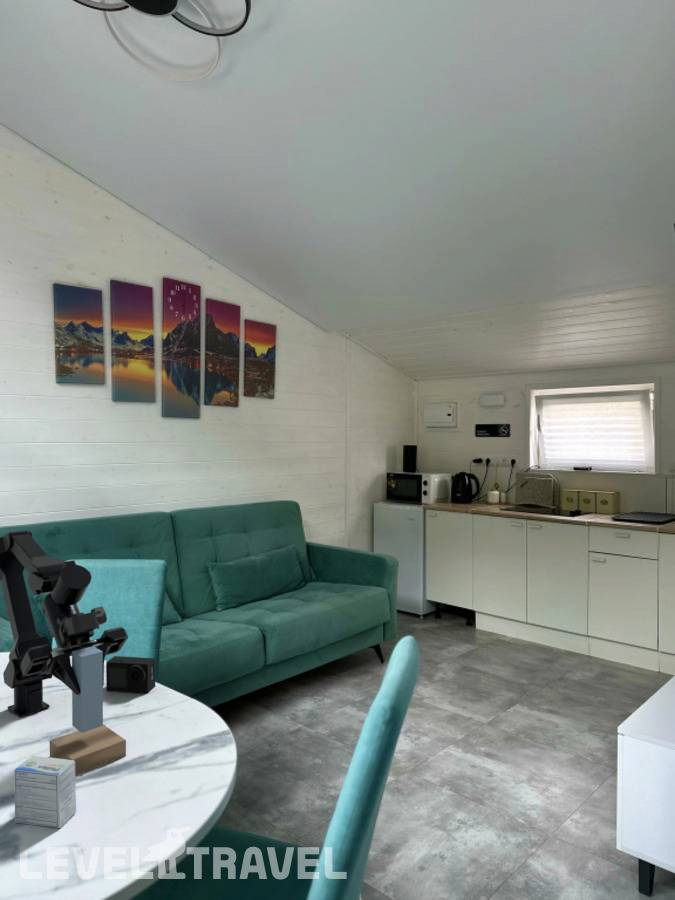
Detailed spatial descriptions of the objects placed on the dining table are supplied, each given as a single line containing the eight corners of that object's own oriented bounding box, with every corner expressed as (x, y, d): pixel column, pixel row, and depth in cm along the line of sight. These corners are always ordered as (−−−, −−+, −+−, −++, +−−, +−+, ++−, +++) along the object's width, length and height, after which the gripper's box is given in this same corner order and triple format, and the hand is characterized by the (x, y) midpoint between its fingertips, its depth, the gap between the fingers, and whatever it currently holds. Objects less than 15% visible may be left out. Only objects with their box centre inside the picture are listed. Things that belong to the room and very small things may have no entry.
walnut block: (49, 756, 118) (49, 740, 118) (101, 737, 126) (101, 723, 126) (72, 776, 112) (72, 759, 111) (125, 755, 119) (125, 740, 119)
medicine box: (77, 813, 101) (76, 759, 101) (59, 830, 97) (58, 774, 96) (33, 807, 102) (32, 754, 102) (13, 824, 98) (13, 768, 98)
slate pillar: (72, 725, 118) (71, 651, 118) (93, 718, 121) (92, 646, 121) (81, 732, 116) (81, 656, 115) (102, 725, 119) (102, 651, 118)
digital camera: (103, 693, 147) (102, 663, 147) (114, 684, 153) (114, 655, 153) (145, 696, 146) (145, 665, 146) (155, 686, 151) (155, 657, 151)
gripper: (25, 604, 114) (51, 682, 106) (123, 586, 127) (152, 654, 120) (10, 637, 120) (33, 714, 112) (105, 617, 133) (131, 684, 126)
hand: (90, 690), depth 117 cm, fingers closed on slate pillar, 4 cm apart
